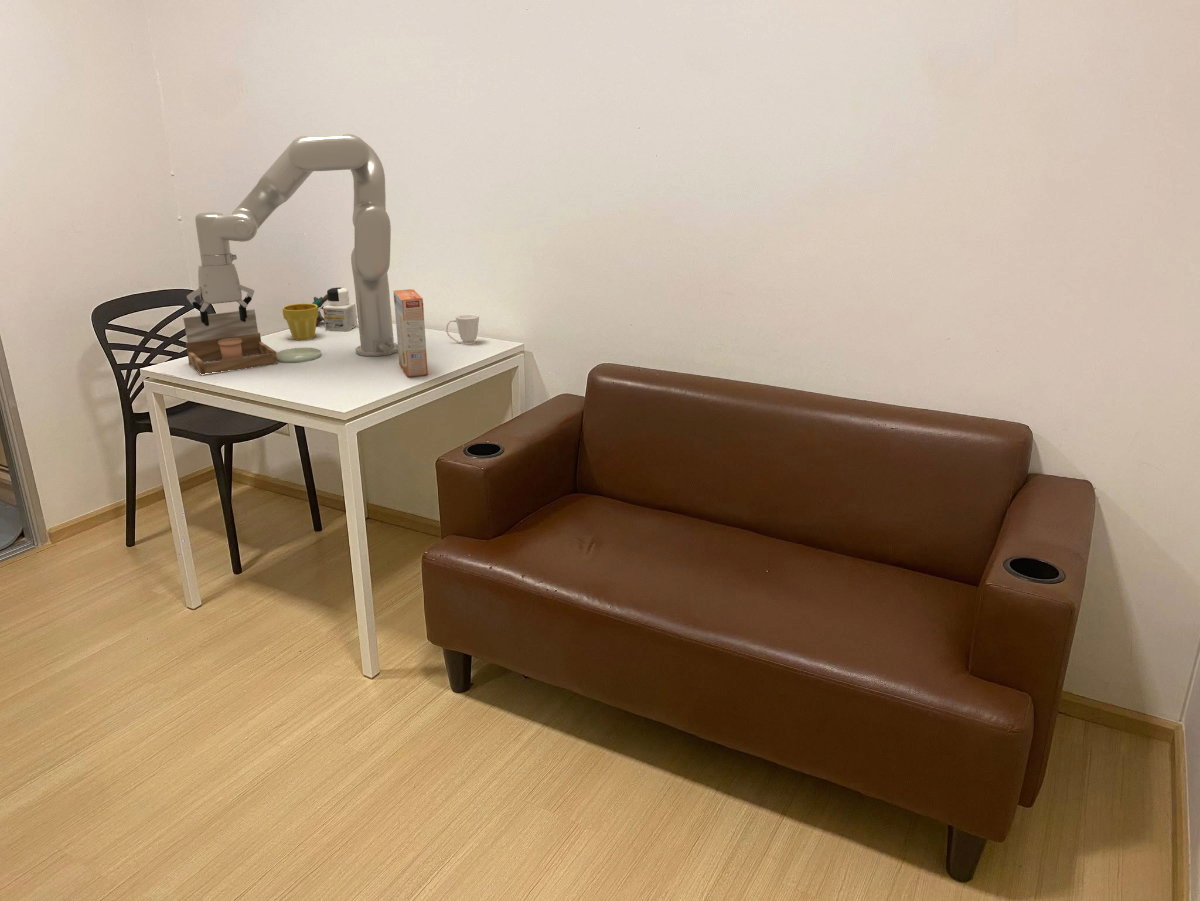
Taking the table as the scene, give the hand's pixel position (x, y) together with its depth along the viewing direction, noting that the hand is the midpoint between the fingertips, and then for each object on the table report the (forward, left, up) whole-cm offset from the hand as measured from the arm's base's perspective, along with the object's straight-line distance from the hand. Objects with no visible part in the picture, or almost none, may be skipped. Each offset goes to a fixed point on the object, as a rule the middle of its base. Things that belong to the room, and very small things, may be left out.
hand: (225, 323), depth 244 cm
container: (+23, -40, -12) cm, 48 cm away
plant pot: (+18, -26, -12) cm, 34 cm away
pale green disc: (-4, -17, -12) cm, 21 cm away
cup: (-18, -63, -12) cm, 67 cm away
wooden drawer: (0, 0, -12) cm, 12 cm away
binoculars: (+33, -36, -12) cm, 51 cm away
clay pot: (0, 0, -12) cm, 12 cm away
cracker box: (-37, -38, -12) cm, 54 cm away
